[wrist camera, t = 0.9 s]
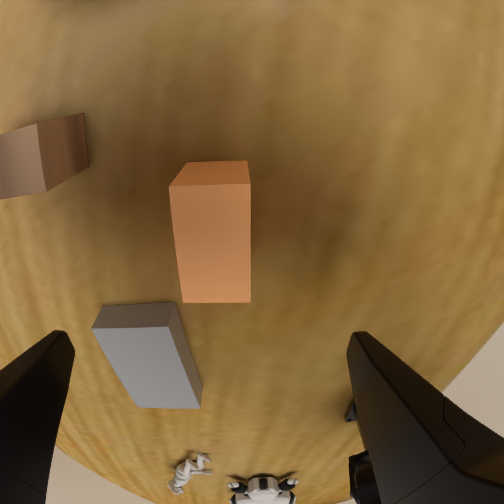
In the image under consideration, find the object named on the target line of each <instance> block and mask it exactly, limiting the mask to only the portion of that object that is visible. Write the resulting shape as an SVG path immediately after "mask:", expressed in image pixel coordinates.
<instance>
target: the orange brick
mask: <svg viewBox="0 0 504 504" xmlns="http://www.w3.org/2000/svg"><path fill="white" fill-rule="evenodd" d="M169 196H170V206H171V216H172V225H173V234H174V242H175V250H176V257H177V265H178V272H179V279H180V286H181V292H182V299H183V303H237V302H251V183H250V176H249V169H248V163H247V161H208V162H187V163H186V165H185V166H184V167H183V168H182V170H181V171H180V172H179V174H178V175H177V176H176V178H175V179H174V180H173V182H172V183H171V184H170V186H169Z"/></svg>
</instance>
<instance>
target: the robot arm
mask: <svg viewBox="0 0 504 504" xmlns="http://www.w3.org/2000/svg"><path fill="white" fill-rule="evenodd" d="M74 357H75V350H74V347H73V345H72V343H71V341H70V339H69V336H68V334H67V333H66V332H65V331H61V330H54V331H52V332H51V333H50V334H48V335H47V336H46V337H44V338H43V339H41V340H40V341H39V342H37V343H36V344H35V345H33V346H32V347H31V348H29V349H28V350H27V351H25V352H24V353H23V354H21V355H20V356H19V357H17V358H16V359H15V360H13V361H12V362H11V363H9V364H8V365H7V366H5V367H4V368H3V369H2V370H0V504H45V501H46V493H47V485H48V479H49V473H50V467H51V462H52V457H53V451H54V447H55V442H56V437H57V433H58V429H59V424H60V420H61V416H62V412H63V408H64V405H65V401H66V397H67V393H68V388H69V383H70V377H71V372H72V367H73V362H74ZM347 362H348V367H349V373H350V378H351V384H352V390H353V396H354V399H353V401H352V404H351V406H350V408H349V410H348V412H347V414H346V416H345V422H352V421H357V425H358V428H359V432H360V435H361V438H362V442H363V446H364V449H365V451H364V452H361V453H359V454H357V455H352V456H350V457H349V476H350V496H351V497H352V498H354V499H355V501H356V503H357V504H504V438H503V437H501V436H500V435H498V434H497V433H495V432H494V431H492V430H491V429H489V428H488V427H486V426H485V425H483V424H481V423H480V422H479V421H477V420H476V419H474V418H473V417H472V416H470V415H469V414H467V413H466V412H464V411H463V410H462V409H461V408H459V407H458V406H457V405H456V404H454V403H453V402H452V401H451V400H449V399H448V398H447V397H446V396H444V395H443V394H442V393H441V392H440V391H439V390H437V389H436V388H435V387H434V386H432V385H431V384H430V383H429V382H428V381H426V380H425V379H424V378H423V377H422V376H420V375H419V374H418V373H417V372H416V371H414V370H413V369H412V368H411V367H409V366H408V365H407V364H406V363H405V362H403V361H402V360H401V359H400V358H398V357H397V356H396V355H395V354H394V353H392V352H391V351H390V350H389V349H387V348H386V347H385V346H384V345H383V344H381V343H380V342H379V341H378V340H376V339H375V338H374V337H373V336H372V335H370V334H369V333H368V332H366V331H357V332H353V333H352V335H351V338H350V342H349V345H348V348H347Z"/></svg>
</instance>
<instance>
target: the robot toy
mask: <svg viewBox="0 0 504 504" xmlns="http://www.w3.org/2000/svg"><path fill="white" fill-rule="evenodd" d="M298 481H299V480H298V479H293V478H290V479H289V478H288V479H285V480H284V481H282V482H281V483H280V487H279V486H278V481H277V480H276V479H275V478H273V477H258V478H252V479H251V480H250V481H249V482H248V489H246V486H245V484H243V483H242V482H239V481H236V482H229V483H228V484H227V485H228V486H229V487H231V489H232V491H234V492H236V494H234V495H233V496H232V497H231V499H229V502H230V504H291V503H292V502H293V501H294V503H293V504H295V499H296V495H294V494H293V493H292V492H291V491H289V490H291V489H292V488H294V487H295V484H297V483H298Z"/></svg>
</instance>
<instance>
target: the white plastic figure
mask: <svg viewBox="0 0 504 504" xmlns="http://www.w3.org/2000/svg"><path fill="white" fill-rule="evenodd" d="M197 456H198V457H197V462H193V461H192V460H190V459H186V462H183V463H182V464H180V465H178V466H177V467H176V474H175V475H174V477H173V479H172V480H171V481H170V482H168V484H167V486H168V487H170V489H171V491H173V492H174V493H175V494H177V495H180V494H179V493H178V492H180V493H184V491H183V489H182V486H183V485H185V484H186V483H187V482H188V481H189V479H191V477H192V475H193V474H198V473H199V474H207V475H208V474H211V473H213V471H212V472H209V471H208V470H209V469H208V470H206V471H204V470H201V469H203V467H204V462H203V460H206V461H208V462H211V458H210V457H209V456H207V455H204V454H203V453H198V454H197Z"/></svg>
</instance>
